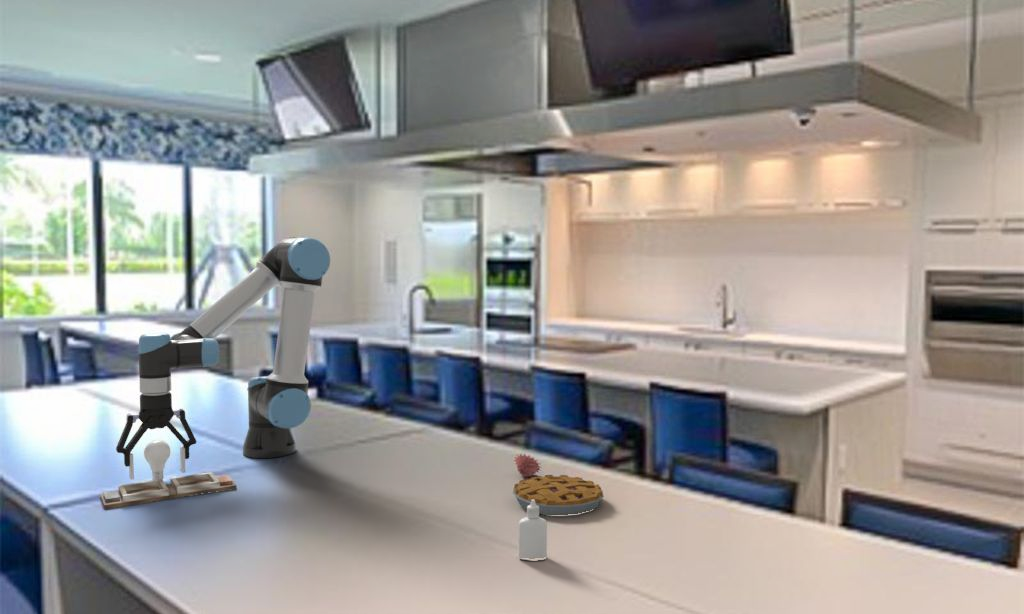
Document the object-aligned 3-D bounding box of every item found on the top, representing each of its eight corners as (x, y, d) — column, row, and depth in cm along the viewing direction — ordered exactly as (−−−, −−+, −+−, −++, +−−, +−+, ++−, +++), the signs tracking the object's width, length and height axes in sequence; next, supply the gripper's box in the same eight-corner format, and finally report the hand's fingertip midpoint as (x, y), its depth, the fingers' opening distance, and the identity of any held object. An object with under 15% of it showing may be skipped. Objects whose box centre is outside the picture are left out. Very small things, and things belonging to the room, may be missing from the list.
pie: (540, 525, 177) (541, 503, 176) (497, 497, 196) (497, 477, 196) (620, 511, 187) (621, 490, 187) (572, 486, 206) (572, 467, 206)
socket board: (227, 479, 209) (227, 469, 209) (236, 489, 201) (236, 479, 200) (100, 497, 193) (100, 487, 193) (104, 509, 185) (104, 498, 184)
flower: (523, 460, 208) (531, 445, 212) (503, 467, 213) (511, 451, 217) (542, 480, 210) (549, 464, 214) (522, 486, 215) (529, 470, 219)
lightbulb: (161, 486, 203) (160, 444, 202) (139, 484, 204) (138, 442, 203) (176, 478, 209) (175, 438, 208) (155, 477, 210) (153, 436, 209)
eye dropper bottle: (525, 552, 161) (525, 494, 160) (549, 557, 158) (550, 499, 157) (515, 559, 157) (515, 500, 156) (540, 565, 154) (540, 505, 154)
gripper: (201, 386, 214) (203, 464, 216) (102, 394, 201) (105, 477, 203) (207, 390, 208) (208, 471, 209) (105, 399, 195) (107, 485, 197)
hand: (157, 474), depth 206 cm, fingers open, 12 cm apart
